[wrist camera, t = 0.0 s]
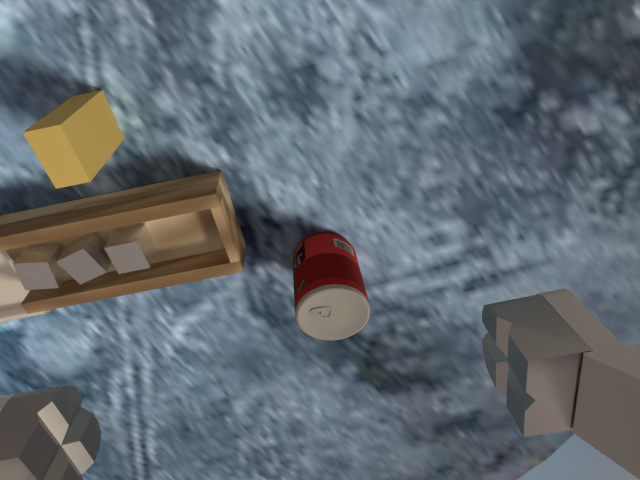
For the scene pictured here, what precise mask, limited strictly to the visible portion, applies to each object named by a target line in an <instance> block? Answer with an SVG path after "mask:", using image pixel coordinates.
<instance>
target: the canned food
mask: <svg viewBox="0 0 640 480" xmlns="http://www.w3.org/2000/svg"><path fill="white" fill-rule="evenodd" d="M293 279H294V299H295V314H296V319H297V323H298V325H299V327H300V328H301V329H302V330H303V332H305V333H306V334H308V335H309V336H311V337H314V338H317V339H320V340H339V339H344V338H347V337H349V336H352V335H354V334H355V333H357V332H359V331H360V330H361V329H362V328H363V327H364V326H365V324H366V323H367V321H368V319H369V315H370V309H369V302H368V298H367V294H366V290H365V286H364V283H363V279H362V275H361V272H360V268H359V265H358V261H357V257H356V254H355V251H354V248H353V247H352V245H351V244H350V243H349V242H348V241H347V240H346V239H345V238H343V237H342V236H340V235H338V234H335V233H329V232H321V233H316V234H313V235H310V236H308V237H306V238H305V239H303V240H302V241H301V242H300V243H299V244H298V246H297V248H296V250H295V252H294V255H293Z"/></svg>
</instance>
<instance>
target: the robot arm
mask: <svg viewBox="0 0 640 480" xmlns="http://www.w3.org/2000/svg"><path fill="white" fill-rule="evenodd" d="M482 322H483V324H484V325H485V327H486V329H487V330H488V333H487V334H486V335H485V337H484V338H483V339H482V341H483V355H484V359H485V363H486V367H487V370H488V372H489V375H490V377H491V379H492V381H493V383H494V385H495V386H496V388H498V389H500V390H501V391H503V392H505V393H506V394H507V408H508V410H509V412H510V414H511V415H512V417H513V419H514V421H515V422H516V424H517V426H518V428H519V430H520V431H521V433H522V435H523V437H527V436H534V435H540V434H547V433H553V432H560V431H566V430H573V431H572V432H573V433H574V434H576V435H577V436H579V437H580V438H581V439H583V440H584V441H586V442H587V443H589V444H590V445H591V446H593V447H594V448H596V449H597V450H598V451H600V452H601V453H603V454H604V455H606V456H607V457H608V458H610V459H611V460H613V461H614V462H615V463H617V464H618V465H620V466H621V467H623V468H624V469H625V470H627V471H628V472H630V473H631V474H633V475H634V476H635V477H637V478H638V479H640V346H637V345H635V344H630V345H624V344H623V343H622V342H620V341H619V340H618V339H617V338H616V337H615V336H614V335H613V334H612V333H611V332H610V331H609V330H608V329H607V328H606V327H605V326H604V325H603V324H602V323H601V322H600V321H599V320H598V319H597V318H596V317H595V316H594V315H593V314H592V313H591V312H590V311H589V310H588V309H587V308H586V307H585V306H584V305H583V304H582V303H581V302H580V301H579V300H578V299H577V298H576V297H575V296H574V295H573V294H572V293H571V292H570V291H568V290H565V289H559V290H554V291H549V292H545V293H540V294H537V295H533V296H528V297H523V298H518V299H513V300H508V301H503V302H498V303H492V304H487V305H484V308H483V311H482ZM82 400H83V397H82V396H81V394H80V393H79V391H78V390H77V389H76V387H75V386H69V385H64V386H58V387H52V388H46V389H40V390H34V391H28V392H22V393H18V394H13V395H7V396H1V397H0V480H83V477H82V474H83V473H84V472H85V471H86V470H87V469H88V468H89V467H90V466H91V465H92V464H93V463H94V462H95V459H96V457H97V454H98V451H99V449H100V439H101V431H100V427H99V423H98V421H97V419H96V417H95V416H94V414H93V413H92V412H90V411H88V410H86V409H84V408H82V407H81V403H82Z"/></svg>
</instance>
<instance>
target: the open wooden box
mask: <svg viewBox="0 0 640 480" xmlns="http://www.w3.org/2000/svg"><path fill="white" fill-rule="evenodd" d="M141 224H146V226H147V228H148V230H149V232H150V234H151V236H152V238H153V241H154V243H155V245H156V247H157V252H156V255H155V257H154V260H153V262H152V265H151V267H150V268H147V269H142V270H136V271H131V272H126V273H121V274H118V272H117V270H116V268H115V266H114V265H113V263H111V265H110V267H109V269H108V271H107V272H106V273H104V274H102V275H100V276H98V277H96V278H94V279H91V280H89V281H87V282H85V283H83V284H81V285H80V284H79V283H78V282H77V281H76V280H75V279H74V278H73V277H71V276H70V275H69V274H67V276H66V277H65V279H64V281H63V282H62V284H61V285H60V287H59V288H51V289H33V290H30V292H29V293H28V295H27V296H26V297H25V299H24V300H23V302H22V303H21V306H22V307H23V308H24V310H25V311H26V312H27V313H28V314H30V313H35V312H40V311H46V310H51V309H56V308H61V307H66V306H71V305H76V304H81V303H86V302H91V301H96V300H101V299H107V298H112V297H117V296H122V295H127V294H132V293H137V292H142V291H147V290H152V289H157V288H163V287H168V286H173V285H178V284H183V283H188V282H193V281H198V280H203V279H208V278H213V277H218V276H224V275H229V274H234V273H239V272H243V268H244V258H245V248H246V243H245V240H244V237H243V234H242V231H241V228H240V225H239V222H238V219H237V216H236V213H235V210H234V207H233V204H232V201H231V198H230V195H229V192H228V189H227V186H226V184H225V181H224V178H223V175H222V172H221V171H216V172H211V173H206V174H201V175H196V176H191V177H186V178H181V179H176V180H171V181H167V182H162V183H157V184H152V185H147V186H142V187H137V188H132V189H127V190H122V191H117V192H112V193H108V194H103V195H98V196H93V197H88V198H83V199H78V200H73V201H68V202H63V203H58V204H54V205H49V206H44V207H39V208H34V209H29V210H24V211H19V212H14V213H9V214H4V215H1V216H0V251H3V250H6V251H7V252H8V254H9V255H10V256H11V258H12V259H13V260H14V261H15V260H16V259H17V258H18V256H19V255H20V254H21V253H22V252H23V250H24V249H25V248H26V247H27V246H28V245H35V244H55V243H61V244H62V247H63V249H64V250H65V248H66V247H67V246H68V244H69V243H70V242H72V241H74V240H76V239H78V238H81V237H83V236H85V235H87V234H89V233H92V232H97V233H98V234H99V235H100V236H101V237H102V238H103V240H104V241H105V242H106V243H107V242H108V240H109V238H110V237H111V235H112V233H113V231H114V230H116V229H121V228H126V227H131V226H136V225H141Z"/></svg>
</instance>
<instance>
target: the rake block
mask: <svg viewBox="0 0 640 480" xmlns="http://www.w3.org/2000/svg"><path fill="white" fill-rule="evenodd" d="M23 134H24V135H25V137H26V139H27V141H28V142H29V144H30V146H31V147H32V149H33V151H34V152H35V154H36V156H37V157H38V159H39V161H40V163H41V164H42V166H43V168H44V169H45V171H46V173H47V174H48V176H49V178H50V180H51V181H52V183H53V185H54V186H55V188H56V189H58V188H63V187H68V186H73V185H77V184H82V183H87V182H91V181H92V179H93V178H94V177H95V175H96V174H97V173H98V172H99V170H100V169H101V168H102V166H103V165H104V164H105V163H106V161H107V160H108V159H109V158H110V156H111V155H112V154H113V152H114V151H115V150H116V149H117V147H118V146H119V145H120V144H121V142H122V141H123V140H124V137H123V134H122V132H121V130H120V128H119V126H118V123H117V121H116V119H115V117H114V115H113V112H112V110H111V108H110V106H109V104H108V101H107V99H106V97H105V95H104V93H103V90H99V91H95V92H90V93H85V94H80V95H76V96H72V97H70V98H69V99H68V100H66V101H65V102H64V103H62V104H61V105H60V106H58V107H57V108H56V109H54V110H53V111H51V112H50V113H49V114H47V115H46V116H45V117H43V118H42V119H41V120H39V121H38V122H37V123H35V124H34V125H32V126H31V127H30V128H28V129H27V130H26V131H24V132H23Z"/></svg>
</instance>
